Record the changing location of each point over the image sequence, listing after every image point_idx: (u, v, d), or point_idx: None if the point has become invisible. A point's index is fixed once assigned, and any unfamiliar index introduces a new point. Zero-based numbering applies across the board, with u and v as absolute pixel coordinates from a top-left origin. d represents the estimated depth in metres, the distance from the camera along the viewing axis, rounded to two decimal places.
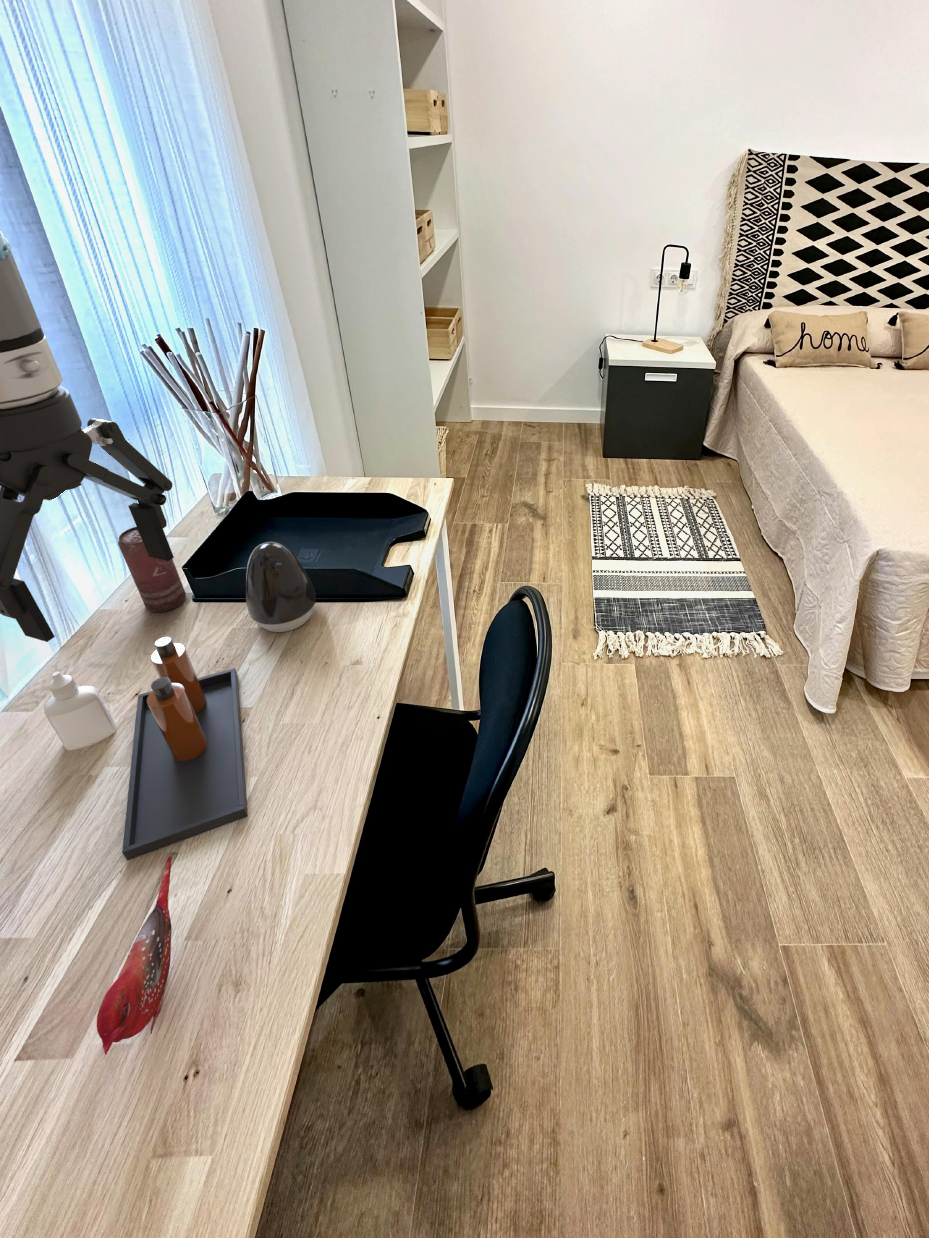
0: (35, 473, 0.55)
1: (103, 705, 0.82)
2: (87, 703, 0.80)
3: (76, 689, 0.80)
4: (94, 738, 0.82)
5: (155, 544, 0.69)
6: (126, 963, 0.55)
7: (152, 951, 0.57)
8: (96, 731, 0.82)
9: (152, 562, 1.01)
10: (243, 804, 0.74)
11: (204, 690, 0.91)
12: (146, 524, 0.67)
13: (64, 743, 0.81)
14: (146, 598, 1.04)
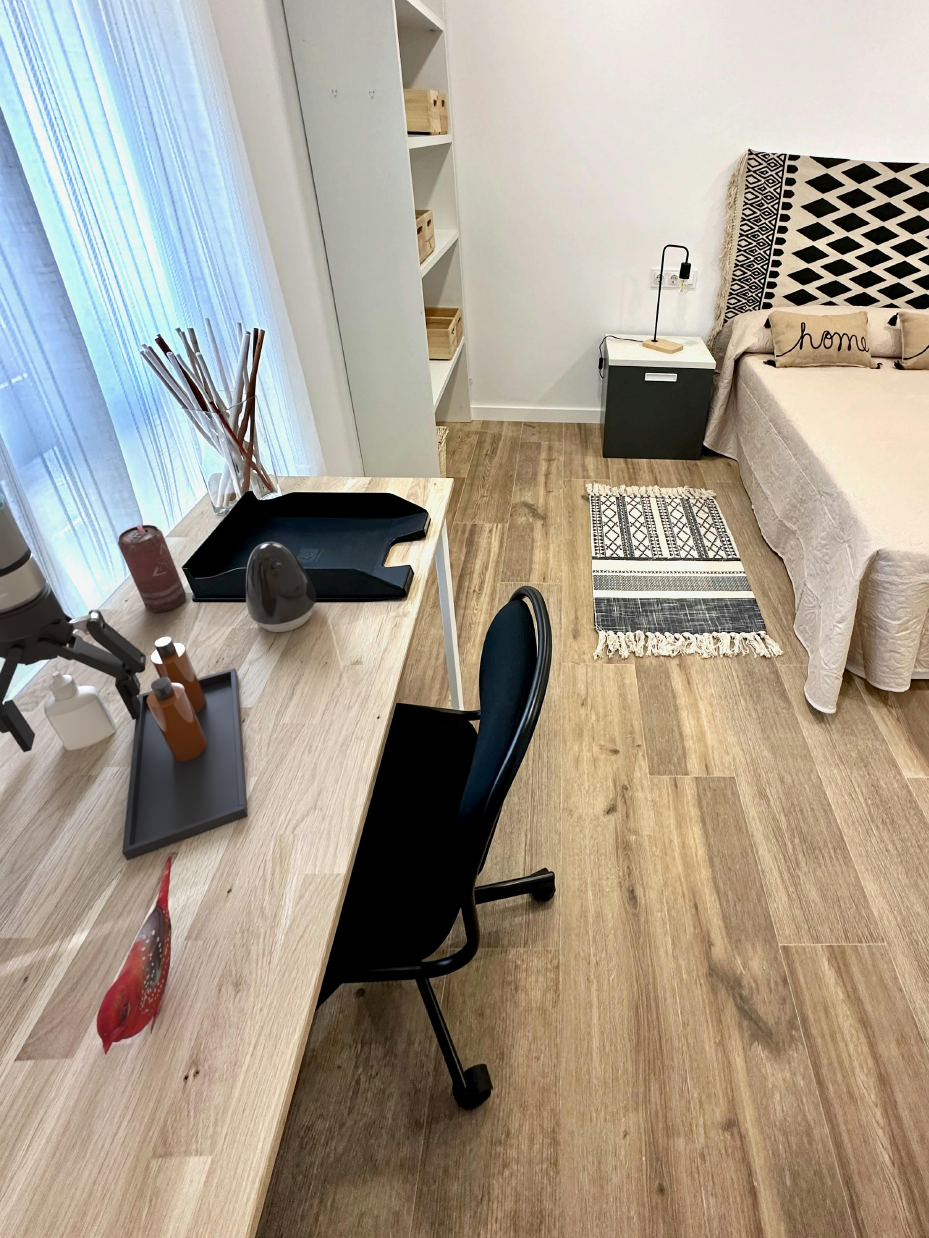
0: (9, 651, 0.73)
1: (103, 705, 0.82)
2: (87, 703, 0.80)
3: (76, 689, 0.80)
4: (94, 738, 0.82)
5: None
6: (126, 963, 0.55)
7: (152, 951, 0.57)
8: (96, 731, 0.82)
9: (152, 562, 1.01)
10: (243, 804, 0.74)
11: (204, 690, 0.91)
12: None
13: (64, 743, 0.81)
14: (146, 598, 1.04)
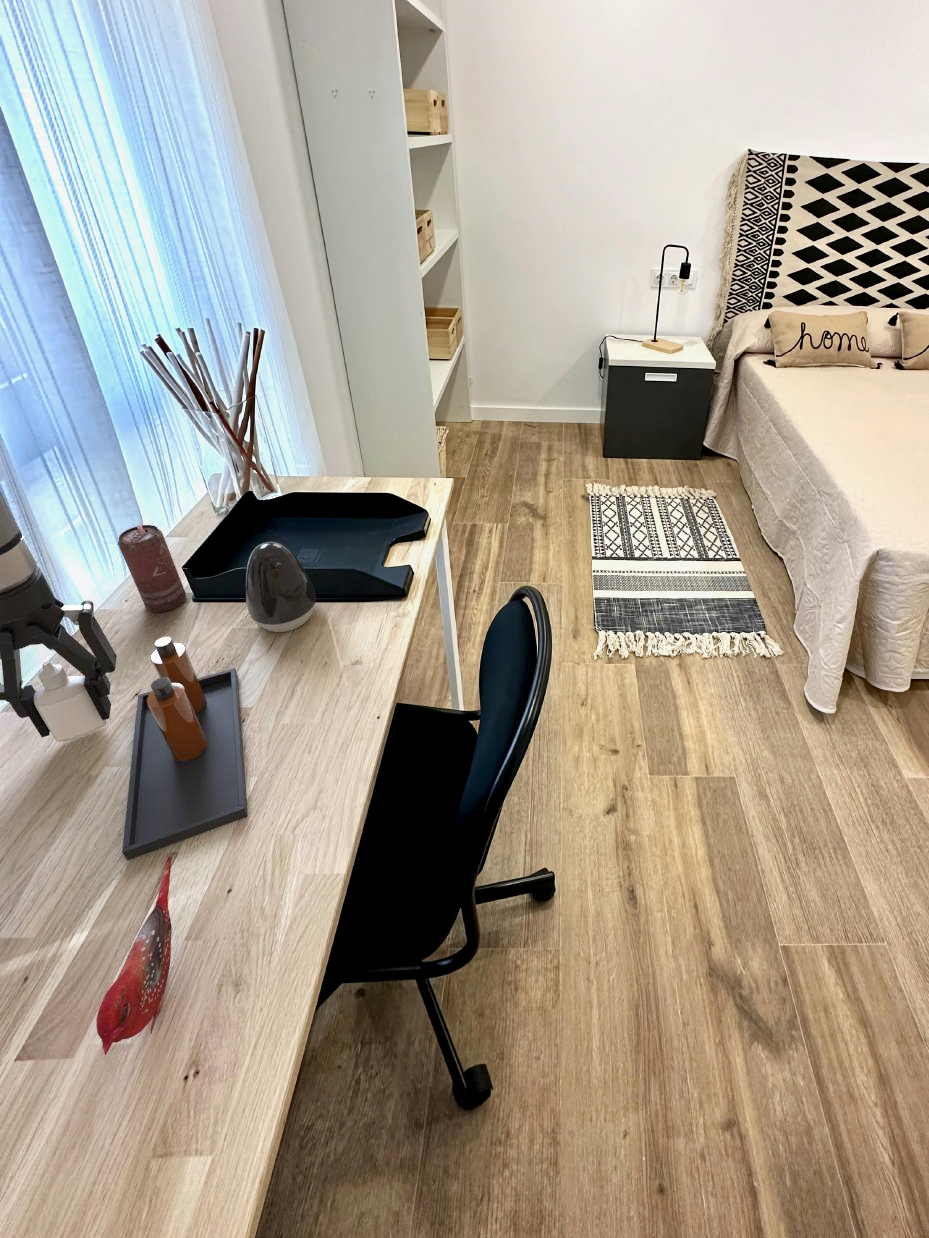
0: None
1: None
2: (77, 693, 0.79)
3: (66, 679, 0.79)
4: (83, 728, 0.82)
5: None
6: (126, 963, 0.55)
7: (152, 951, 0.57)
8: (85, 722, 0.82)
9: (152, 562, 1.01)
10: (243, 804, 0.74)
11: (204, 690, 0.91)
12: None
13: (53, 733, 0.80)
14: (146, 598, 1.04)
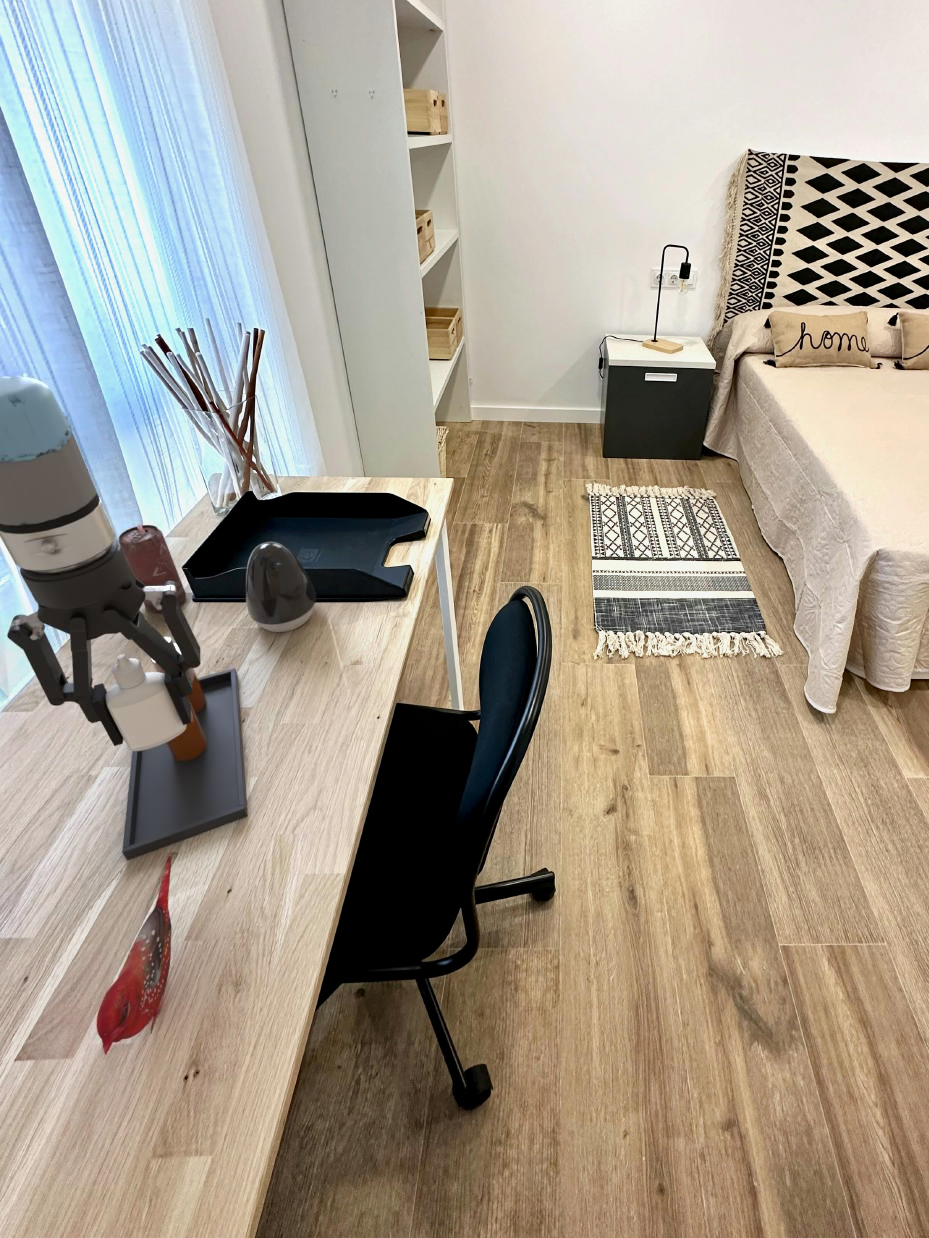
0: None
1: None
2: (156, 692, 0.67)
3: (144, 676, 0.66)
4: (162, 735, 0.69)
5: None
6: (126, 963, 0.55)
7: (152, 951, 0.57)
8: (164, 727, 0.69)
9: (152, 562, 1.01)
10: (243, 804, 0.74)
11: (204, 690, 0.91)
12: None
13: (127, 741, 0.67)
14: None
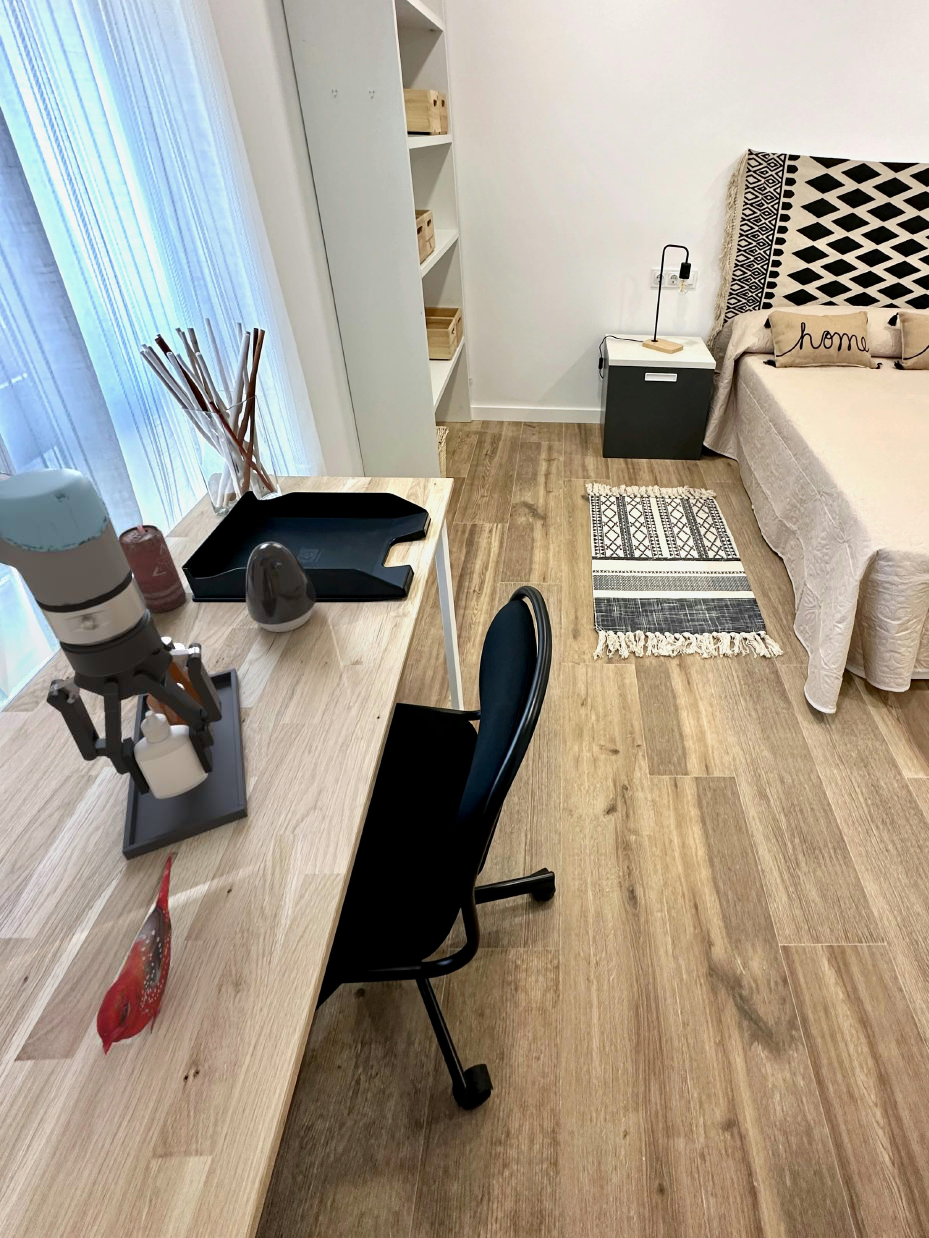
0: None
1: None
2: (181, 745, 0.71)
3: (169, 730, 0.70)
4: (185, 783, 0.73)
5: None
6: (126, 963, 0.55)
7: (152, 951, 0.57)
8: (188, 776, 0.73)
9: (152, 562, 1.01)
10: (243, 804, 0.74)
11: None
12: None
13: (153, 790, 0.72)
14: (146, 598, 1.04)
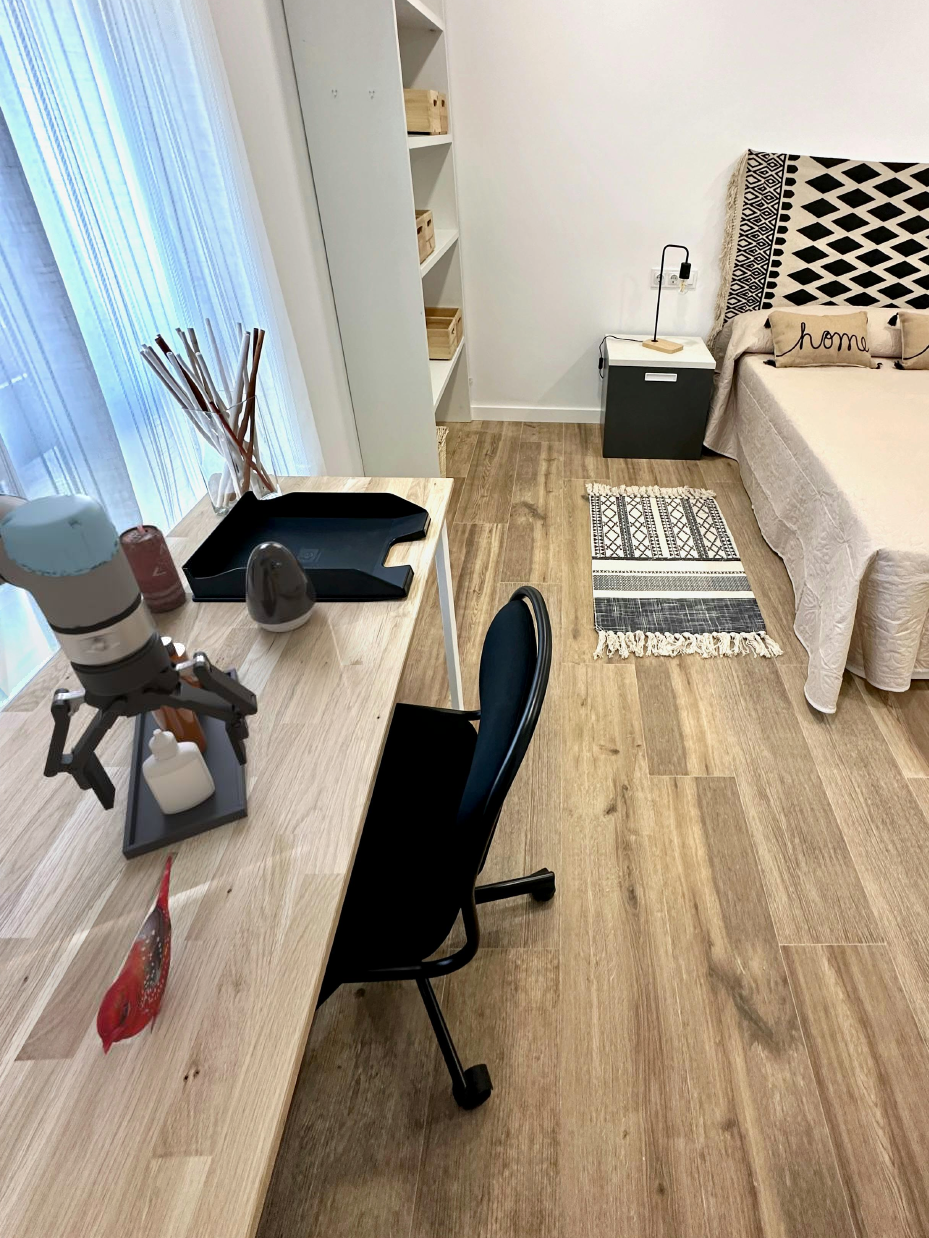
0: (112, 703, 0.65)
1: (203, 763, 0.75)
2: (188, 762, 0.73)
3: (177, 747, 0.72)
4: (193, 799, 0.75)
5: None
6: (126, 963, 0.55)
7: (152, 951, 0.57)
8: (195, 792, 0.75)
9: (152, 562, 1.01)
10: (243, 804, 0.74)
11: None
12: None
13: (161, 805, 0.73)
14: (146, 598, 1.04)
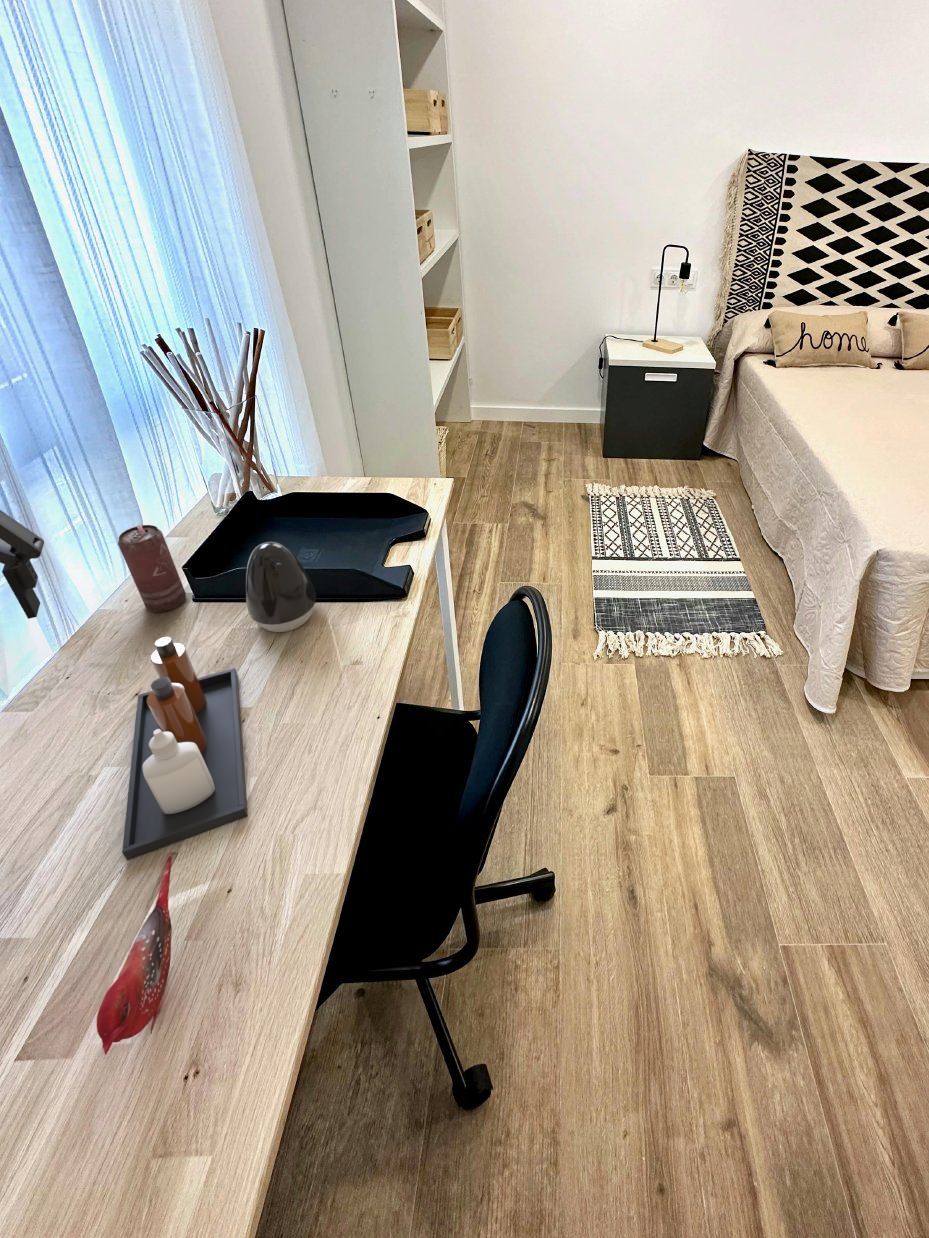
0: None
1: (203, 763, 0.75)
2: (188, 762, 0.73)
3: (177, 747, 0.72)
4: (193, 799, 0.75)
5: None
6: (126, 963, 0.55)
7: (152, 951, 0.57)
8: (195, 792, 0.75)
9: (152, 562, 1.01)
10: (243, 804, 0.74)
11: (204, 690, 0.91)
12: None
13: (161, 805, 0.73)
14: (146, 598, 1.04)
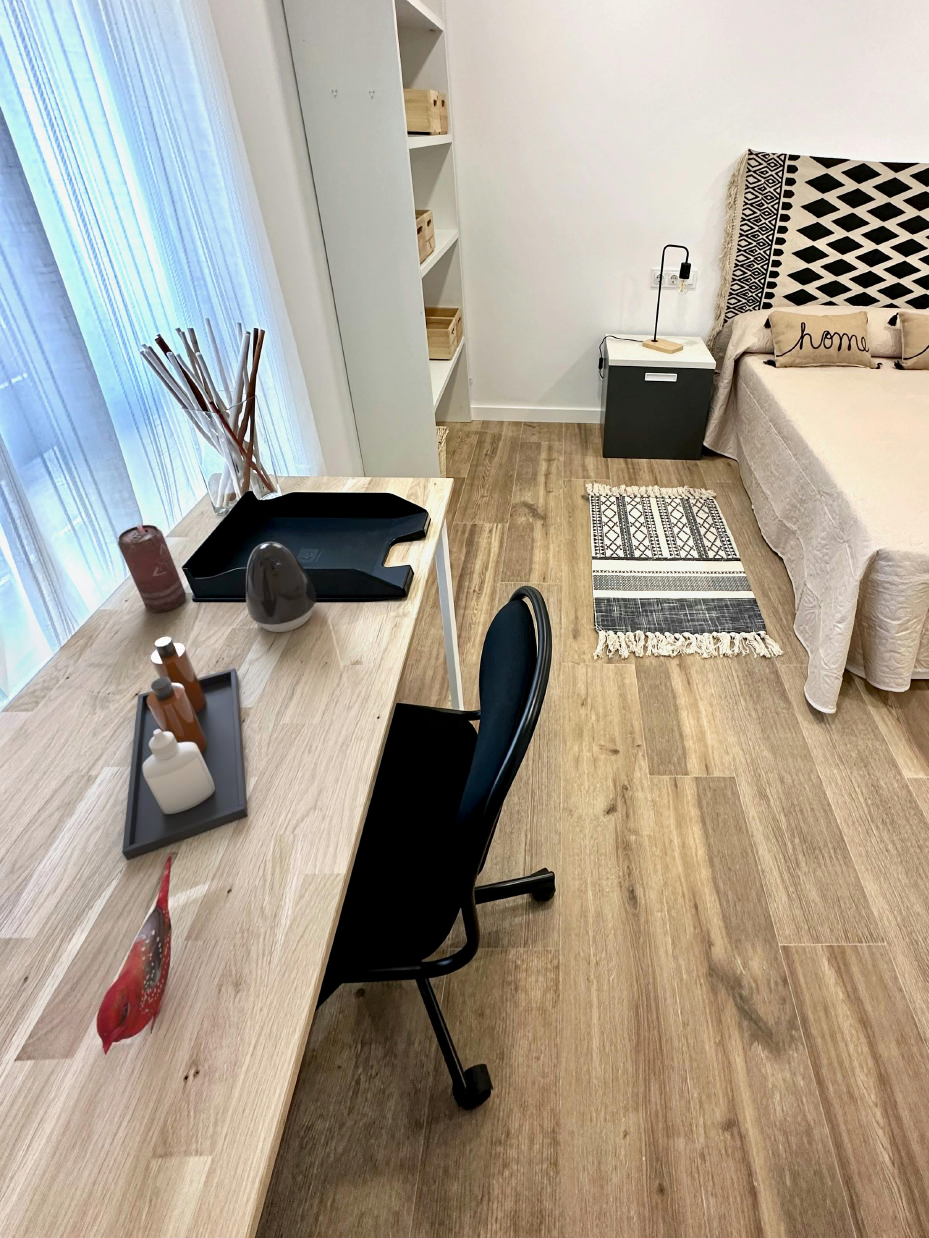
0: None
1: (203, 763, 0.75)
2: (188, 762, 0.73)
3: (177, 747, 0.72)
4: (193, 799, 0.75)
5: None
6: (126, 963, 0.55)
7: (152, 951, 0.57)
8: (195, 792, 0.75)
9: (152, 562, 1.01)
10: (243, 804, 0.74)
11: (204, 690, 0.91)
12: None
13: (161, 805, 0.73)
14: (146, 598, 1.04)
